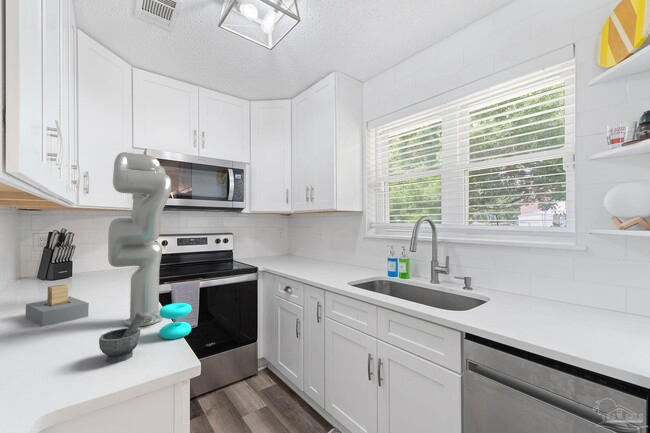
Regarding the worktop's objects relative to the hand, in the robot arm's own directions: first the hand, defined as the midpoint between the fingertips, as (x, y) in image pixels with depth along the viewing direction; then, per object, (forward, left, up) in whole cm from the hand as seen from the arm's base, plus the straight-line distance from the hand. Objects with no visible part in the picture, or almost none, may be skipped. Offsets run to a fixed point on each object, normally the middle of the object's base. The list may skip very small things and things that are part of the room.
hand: (141, 231), depth 139 cm
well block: (+8, +28, -34) cm, 45 cm away
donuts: (-51, +13, -35) cm, 63 cm away
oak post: (+8, +28, -34) cm, 45 cm away
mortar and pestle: (-54, +31, -34) cm, 71 cm away
